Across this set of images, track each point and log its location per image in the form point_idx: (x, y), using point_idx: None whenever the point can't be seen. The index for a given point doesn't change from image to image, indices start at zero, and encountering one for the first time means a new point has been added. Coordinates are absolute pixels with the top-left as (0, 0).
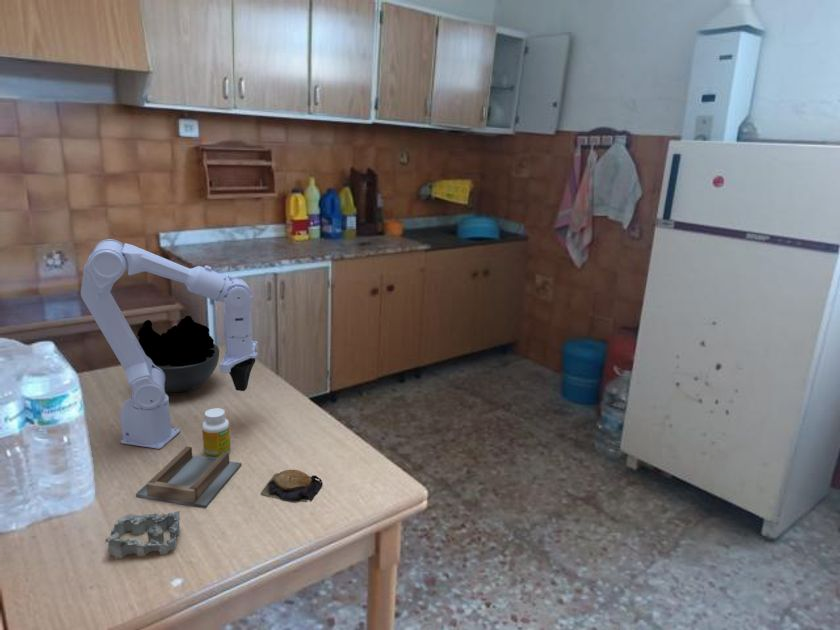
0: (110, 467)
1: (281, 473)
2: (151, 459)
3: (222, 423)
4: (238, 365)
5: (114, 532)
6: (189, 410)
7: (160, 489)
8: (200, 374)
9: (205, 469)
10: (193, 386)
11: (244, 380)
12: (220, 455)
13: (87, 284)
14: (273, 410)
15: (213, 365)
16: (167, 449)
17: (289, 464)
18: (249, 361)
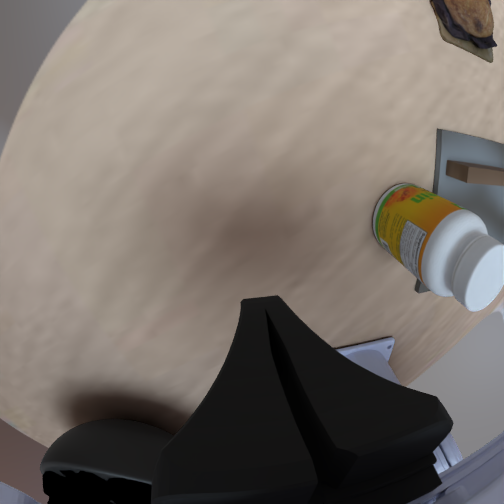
0: (435, 354)
1: (482, 19)
2: (421, 324)
3: (479, 231)
4: (424, 467)
5: None
6: None
7: None
8: (144, 451)
9: (466, 203)
10: (152, 429)
11: (320, 339)
12: (478, 182)
13: None
14: (96, 189)
15: (94, 448)
16: (390, 325)
17: (399, 9)
18: (309, 494)
